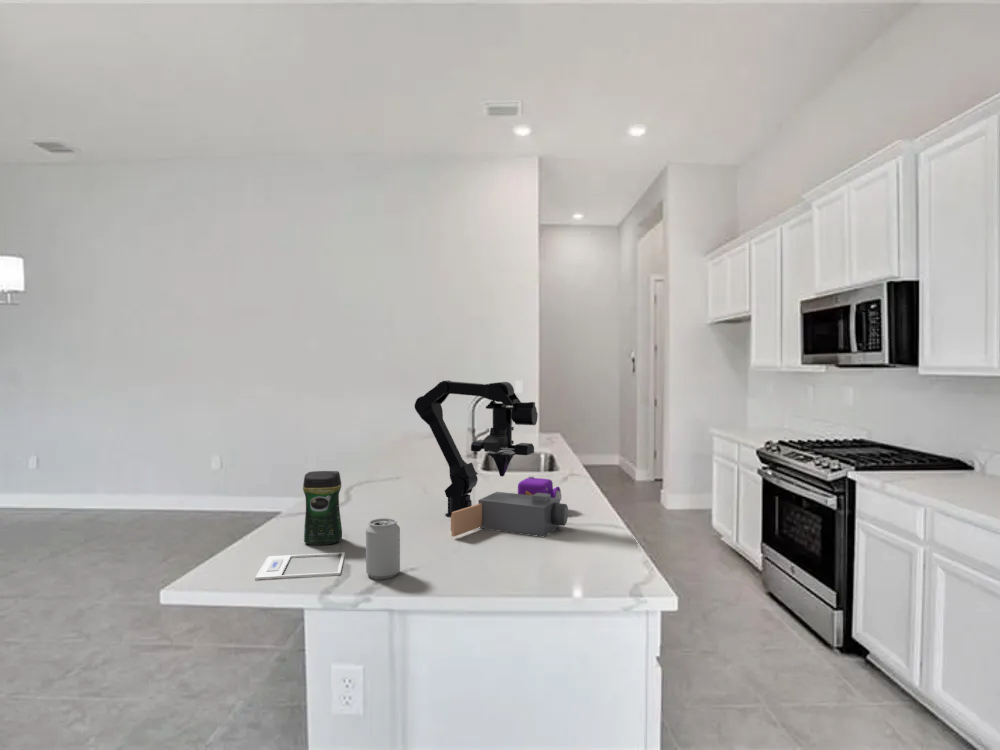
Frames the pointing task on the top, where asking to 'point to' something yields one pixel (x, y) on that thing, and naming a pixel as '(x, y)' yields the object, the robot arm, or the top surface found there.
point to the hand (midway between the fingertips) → (502, 476)
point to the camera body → (523, 513)
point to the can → (382, 548)
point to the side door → (466, 519)
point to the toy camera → (538, 487)
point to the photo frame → (277, 564)
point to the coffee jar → (322, 507)
